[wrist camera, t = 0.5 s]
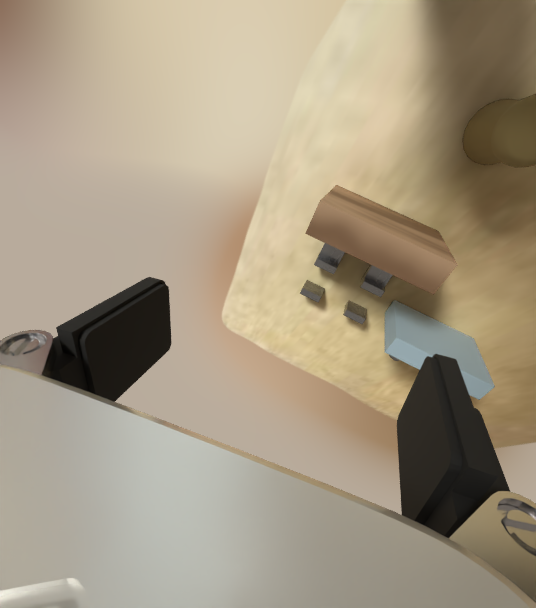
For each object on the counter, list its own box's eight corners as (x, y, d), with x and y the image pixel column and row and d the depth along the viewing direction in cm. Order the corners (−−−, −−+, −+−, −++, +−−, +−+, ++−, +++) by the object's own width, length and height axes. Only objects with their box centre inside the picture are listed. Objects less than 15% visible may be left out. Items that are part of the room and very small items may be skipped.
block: (394, 299, 44) (396, 337, 36) (473, 338, 43) (494, 386, 34) (380, 318, 46) (379, 358, 38) (455, 356, 45) (472, 405, 37)
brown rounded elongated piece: (524, 85, 30) (586, 61, 21) (538, 145, 32) (601, 148, 22) (455, 121, 33) (482, 115, 24) (471, 175, 34) (502, 188, 25)
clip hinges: (338, 216, 41) (335, 221, 39) (407, 248, 40) (408, 256, 38) (304, 285, 47) (299, 293, 45) (363, 314, 46) (362, 324, 44)
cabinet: (336, 184, 39) (319, 200, 29) (438, 231, 38) (457, 264, 28) (324, 210, 41) (305, 233, 31) (421, 255, 40) (433, 294, 30)
